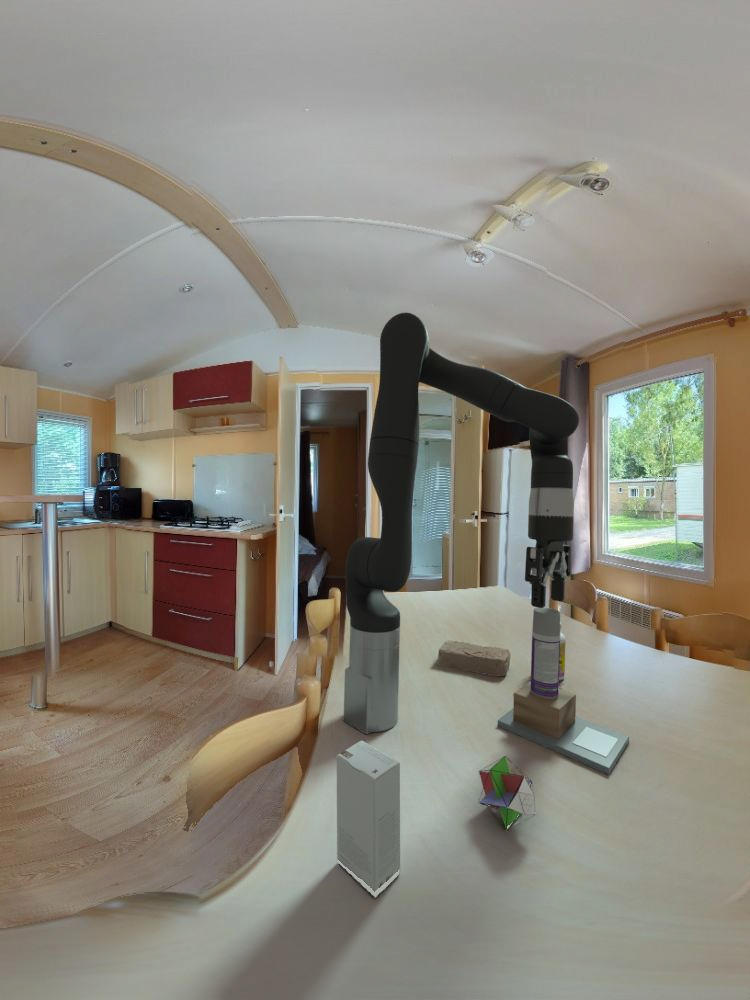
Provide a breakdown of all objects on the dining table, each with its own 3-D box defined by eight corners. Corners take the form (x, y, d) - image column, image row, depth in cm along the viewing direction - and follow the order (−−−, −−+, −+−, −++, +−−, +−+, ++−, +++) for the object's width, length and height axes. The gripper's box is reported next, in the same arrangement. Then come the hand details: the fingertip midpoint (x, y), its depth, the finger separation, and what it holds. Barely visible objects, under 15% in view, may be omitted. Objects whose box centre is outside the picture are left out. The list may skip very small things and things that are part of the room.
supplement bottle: (534, 679, 93) (535, 623, 93) (533, 668, 99) (534, 616, 99) (566, 684, 90) (567, 627, 90) (562, 672, 97) (564, 619, 97)
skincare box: (401, 874, 43) (404, 760, 43) (373, 904, 40) (376, 781, 40) (361, 840, 47) (364, 736, 47) (332, 864, 44) (335, 753, 44)
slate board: (608, 774, 60) (609, 767, 60) (497, 725, 73) (497, 719, 73) (628, 742, 68) (629, 735, 68) (526, 703, 81) (526, 697, 81)
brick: (436, 666, 100) (437, 647, 100) (445, 654, 107) (446, 637, 107) (506, 680, 92) (506, 660, 92) (510, 667, 100) (511, 648, 100)
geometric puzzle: (455, 791, 53) (489, 759, 49) (482, 767, 58) (515, 737, 54) (494, 851, 49) (534, 822, 45) (520, 821, 53) (558, 792, 50)
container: (535, 684, 76) (537, 605, 76) (561, 693, 73) (564, 610, 73) (526, 693, 72) (529, 610, 72) (554, 702, 69) (556, 615, 69)
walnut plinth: (558, 739, 67) (559, 709, 67) (513, 720, 73) (513, 692, 73) (575, 721, 73) (575, 694, 73) (531, 705, 78) (532, 679, 78)
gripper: (556, 514, 65) (553, 614, 65) (586, 515, 75) (584, 602, 75) (512, 512, 70) (509, 605, 70) (546, 513, 80) (543, 595, 80)
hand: (548, 603), depth 72 cm, fingers open, 8 cm apart
